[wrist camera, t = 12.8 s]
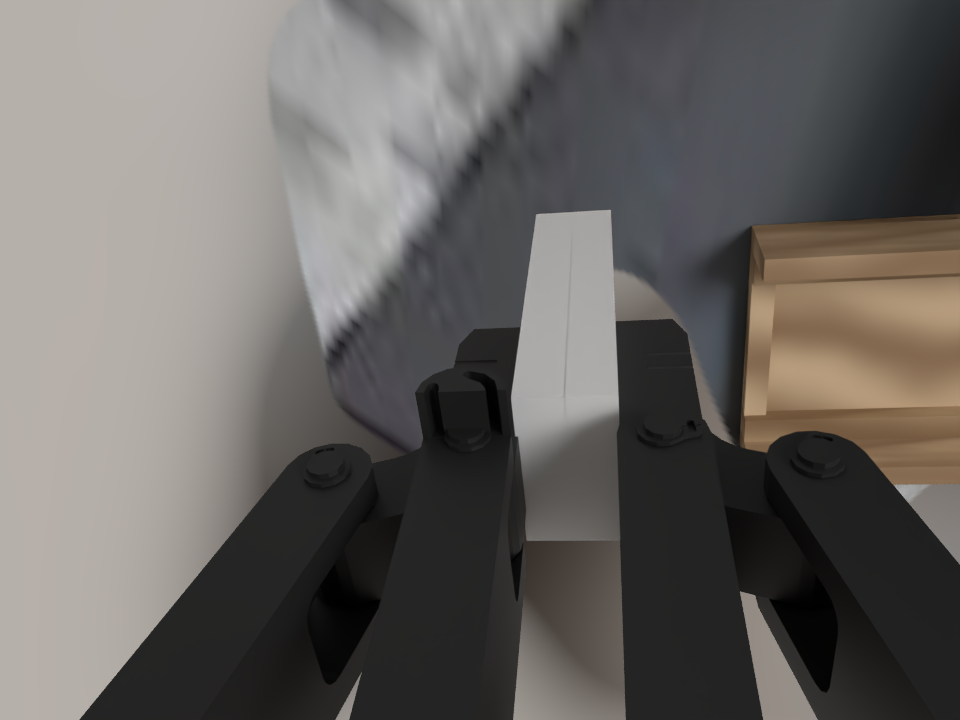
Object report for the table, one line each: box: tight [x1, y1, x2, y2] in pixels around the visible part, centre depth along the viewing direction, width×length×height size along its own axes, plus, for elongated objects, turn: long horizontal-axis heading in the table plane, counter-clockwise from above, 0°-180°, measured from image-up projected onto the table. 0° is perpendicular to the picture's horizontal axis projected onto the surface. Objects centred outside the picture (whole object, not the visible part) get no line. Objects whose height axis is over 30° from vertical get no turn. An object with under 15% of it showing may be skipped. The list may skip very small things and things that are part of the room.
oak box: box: [740, 214, 960, 485], centre depth 46 cm, size 14×16×4 cm
